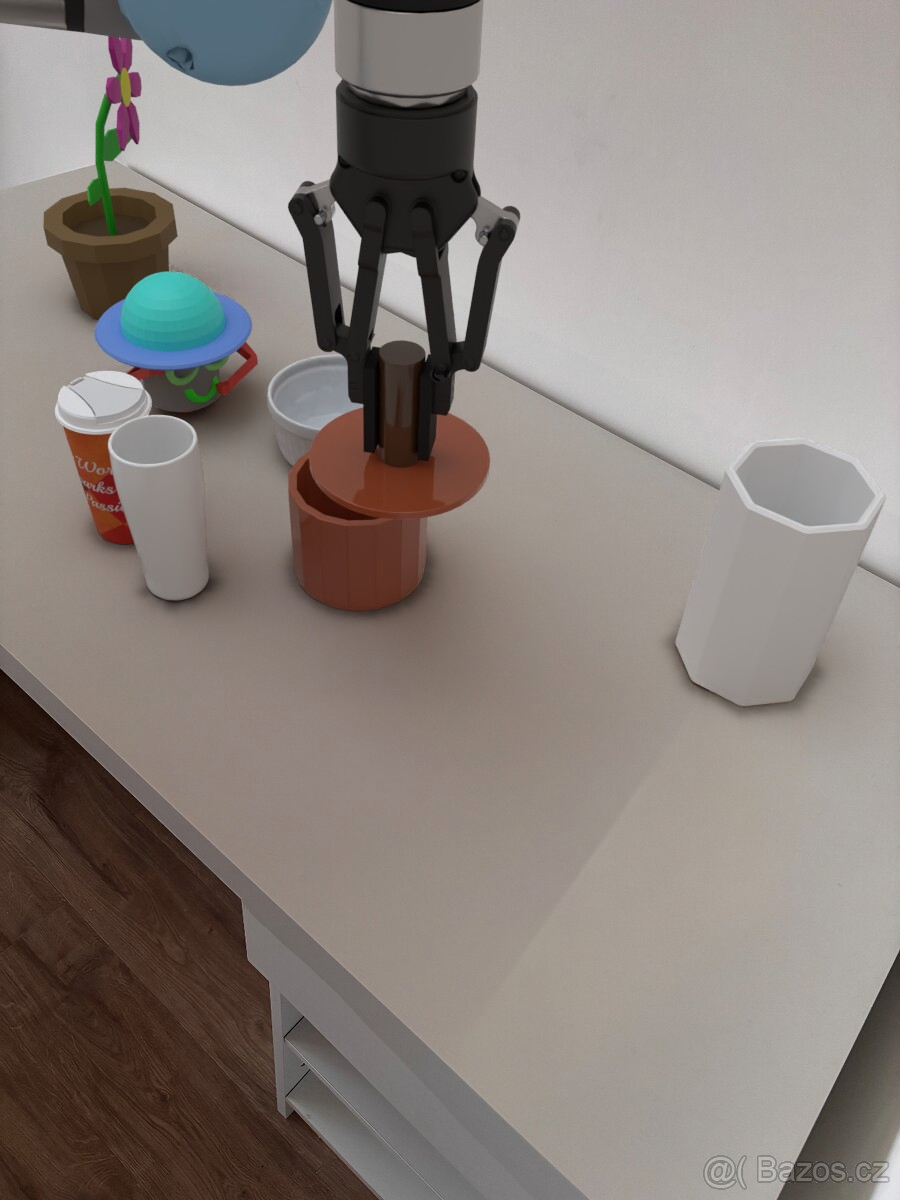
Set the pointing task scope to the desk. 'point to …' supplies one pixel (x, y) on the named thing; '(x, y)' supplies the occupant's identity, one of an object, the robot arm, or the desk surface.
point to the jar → (351, 549)
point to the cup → (775, 567)
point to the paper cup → (100, 439)
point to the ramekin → (307, 401)
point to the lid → (399, 450)
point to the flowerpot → (112, 209)
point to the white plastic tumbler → (163, 501)
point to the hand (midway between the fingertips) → (400, 444)
